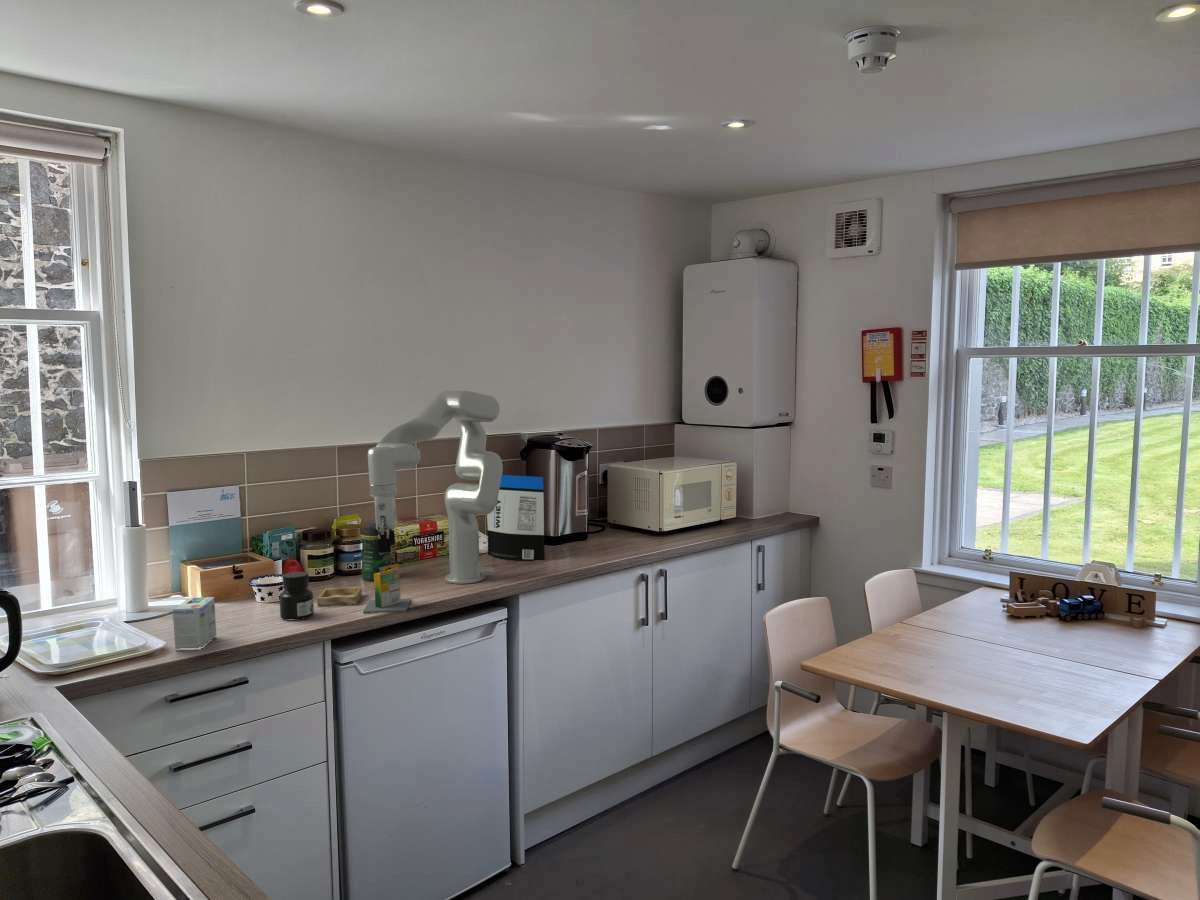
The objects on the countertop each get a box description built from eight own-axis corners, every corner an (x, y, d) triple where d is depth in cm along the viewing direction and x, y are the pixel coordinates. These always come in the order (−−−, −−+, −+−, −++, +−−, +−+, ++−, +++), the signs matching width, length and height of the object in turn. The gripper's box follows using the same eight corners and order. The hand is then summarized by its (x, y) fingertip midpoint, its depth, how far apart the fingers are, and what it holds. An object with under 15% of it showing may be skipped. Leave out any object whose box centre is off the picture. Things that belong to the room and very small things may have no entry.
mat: (410, 600, 256) (410, 598, 256) (406, 611, 244) (406, 609, 244) (369, 602, 255) (369, 600, 255) (363, 613, 243) (363, 611, 243)
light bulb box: (190, 638, 223) (188, 597, 222) (217, 637, 224) (215, 596, 223) (174, 651, 212) (171, 608, 211) (202, 650, 213) (199, 607, 212)
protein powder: (537, 563, 303) (536, 478, 300) (480, 557, 313) (478, 475, 311) (551, 558, 311) (549, 475, 308) (495, 552, 322) (493, 472, 319)
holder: (361, 595, 263) (361, 587, 263) (356, 604, 252) (355, 596, 252) (325, 596, 262) (324, 588, 261) (317, 606, 251) (317, 598, 251)
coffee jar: (375, 582, 278) (373, 526, 276) (357, 580, 282) (355, 524, 280) (396, 576, 287) (394, 521, 285) (378, 573, 290) (376, 519, 289)
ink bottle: (306, 621, 236) (304, 578, 235) (274, 621, 236) (272, 579, 235) (319, 611, 246) (317, 570, 245) (288, 611, 246) (286, 570, 245)
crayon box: (394, 600, 254) (392, 562, 252) (401, 602, 252) (399, 563, 251) (374, 606, 248) (373, 567, 247) (381, 608, 246) (379, 568, 245)
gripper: (393, 494, 238) (396, 554, 240) (400, 484, 255) (403, 540, 258) (365, 495, 238) (369, 556, 240) (374, 485, 255) (378, 542, 257)
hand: (387, 548), depth 249 cm, fingers open, 9 cm apart
